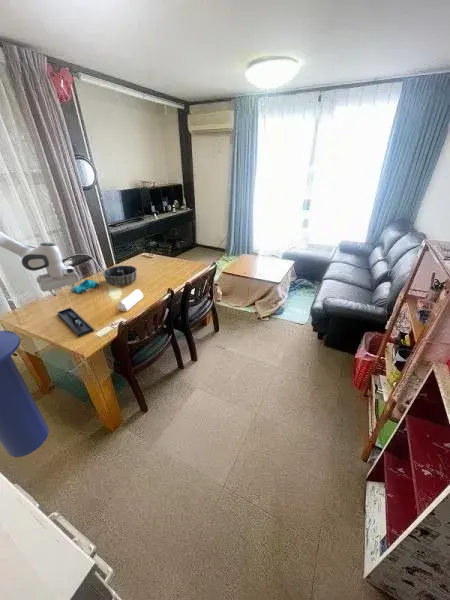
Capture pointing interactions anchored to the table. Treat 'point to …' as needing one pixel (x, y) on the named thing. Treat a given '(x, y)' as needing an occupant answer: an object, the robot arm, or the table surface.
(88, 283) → the toy car
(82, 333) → the knife tray
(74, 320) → the knife
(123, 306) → the white triangular prism
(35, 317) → the table surface
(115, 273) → the bundt pan
